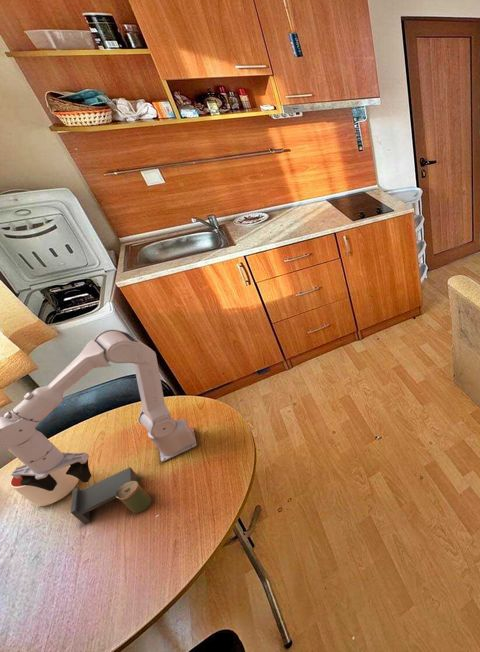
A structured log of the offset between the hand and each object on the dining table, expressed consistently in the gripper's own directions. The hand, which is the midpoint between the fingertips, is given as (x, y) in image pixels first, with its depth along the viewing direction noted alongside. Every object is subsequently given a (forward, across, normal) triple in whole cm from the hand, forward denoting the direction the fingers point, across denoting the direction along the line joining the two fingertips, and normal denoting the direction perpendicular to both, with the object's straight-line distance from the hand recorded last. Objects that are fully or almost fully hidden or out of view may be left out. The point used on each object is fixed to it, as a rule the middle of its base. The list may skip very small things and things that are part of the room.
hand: (71, 483), depth 99 cm
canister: (+10, +14, -5) cm, 18 cm away
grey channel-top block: (+10, +5, 0) cm, 11 cm away
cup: (+10, -11, +7) cm, 17 cm away
